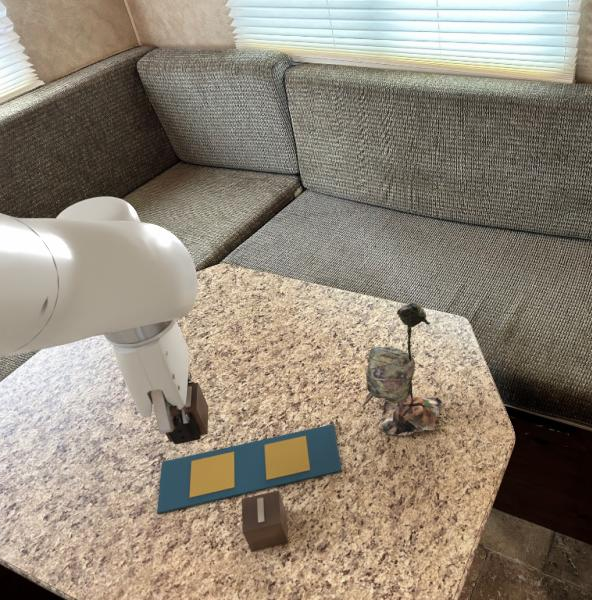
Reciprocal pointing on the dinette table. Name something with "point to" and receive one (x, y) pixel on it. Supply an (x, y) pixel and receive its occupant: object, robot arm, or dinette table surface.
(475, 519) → the dinette table surface
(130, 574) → the dinette table surface
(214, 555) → the dinette table surface
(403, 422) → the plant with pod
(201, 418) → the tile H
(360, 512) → the dinette table surface
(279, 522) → the tile
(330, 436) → the word mat
